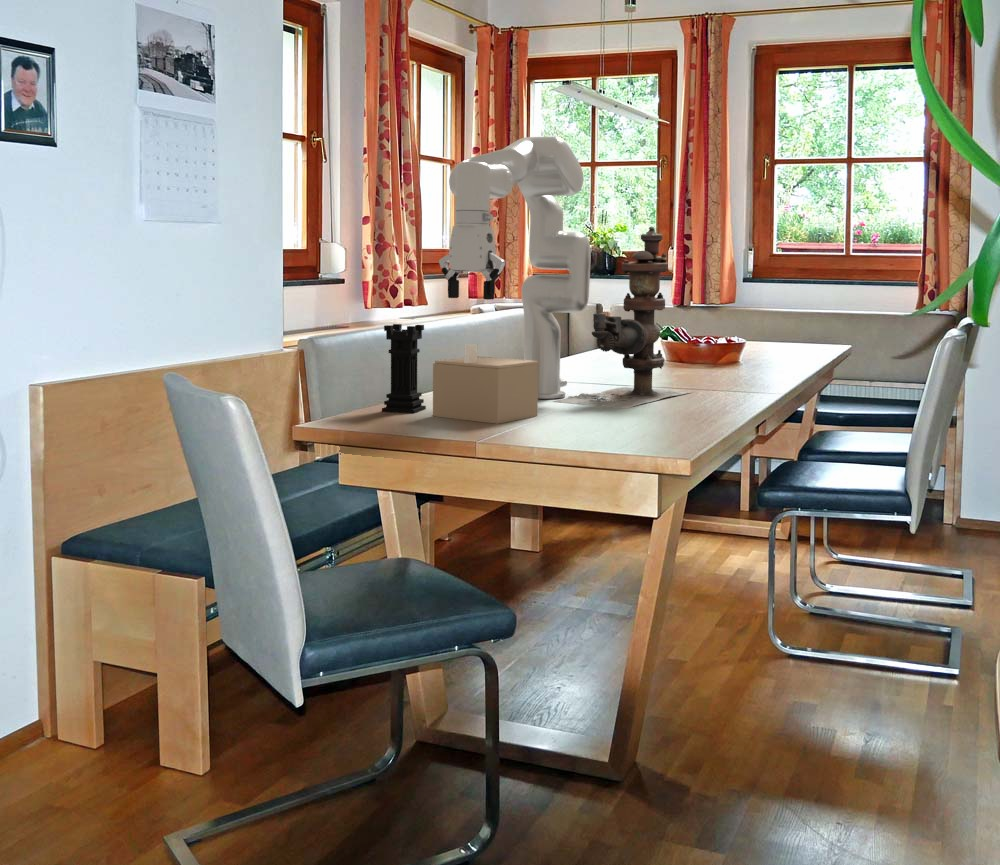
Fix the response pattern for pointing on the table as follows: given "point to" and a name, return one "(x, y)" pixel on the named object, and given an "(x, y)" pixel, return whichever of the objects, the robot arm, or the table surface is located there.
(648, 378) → the valve
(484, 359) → the lid flap
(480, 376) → the carton
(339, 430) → the table surface
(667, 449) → the table surface
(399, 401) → the chess piece
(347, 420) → the table surface
